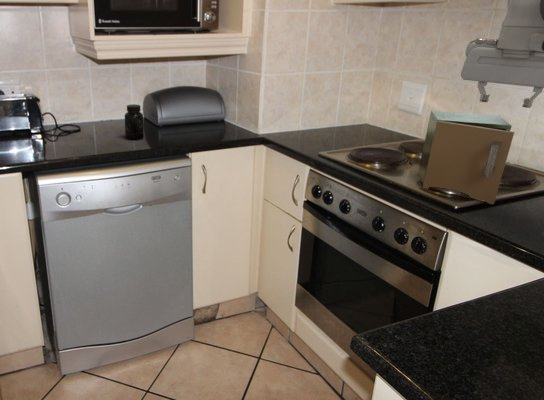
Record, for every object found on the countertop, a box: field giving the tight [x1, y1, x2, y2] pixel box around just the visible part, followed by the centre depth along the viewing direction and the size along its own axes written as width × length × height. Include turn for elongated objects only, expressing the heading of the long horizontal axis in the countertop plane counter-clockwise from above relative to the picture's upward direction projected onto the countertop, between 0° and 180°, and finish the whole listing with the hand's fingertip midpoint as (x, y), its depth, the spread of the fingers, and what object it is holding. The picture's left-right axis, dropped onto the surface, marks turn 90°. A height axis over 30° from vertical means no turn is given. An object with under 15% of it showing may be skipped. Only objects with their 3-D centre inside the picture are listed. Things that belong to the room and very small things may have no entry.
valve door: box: [422, 121, 515, 205], centre depth 121 cm, size 6×17×19 cm, turn 49°
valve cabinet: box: [417, 110, 512, 187], centre depth 131 cm, size 12×17×19 cm
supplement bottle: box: [124, 104, 145, 141], centre depth 174 cm, size 7×7×12 cm
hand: (504, 104), depth 109 cm, fingers open, 7 cm apart
